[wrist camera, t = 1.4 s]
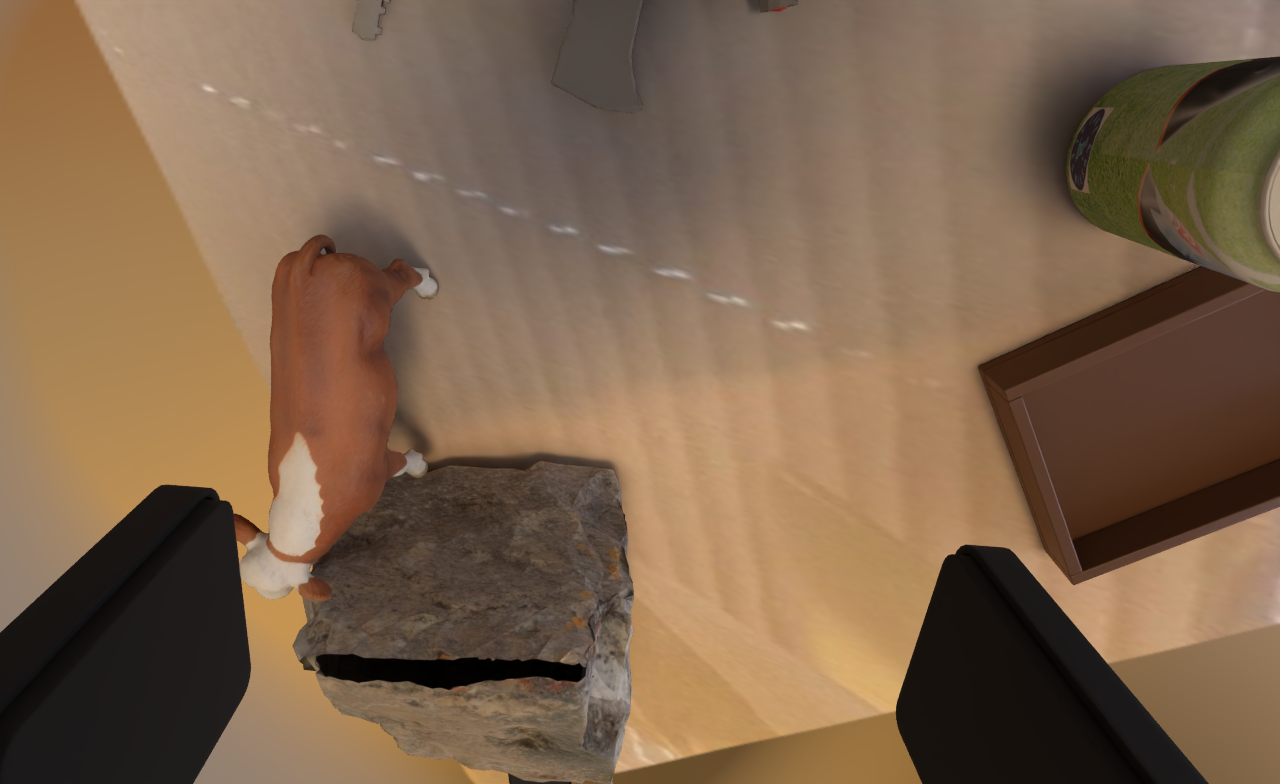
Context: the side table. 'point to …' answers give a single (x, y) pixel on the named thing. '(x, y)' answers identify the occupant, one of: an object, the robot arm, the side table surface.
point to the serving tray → (1146, 421)
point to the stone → (484, 619)
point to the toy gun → (608, 52)
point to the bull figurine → (327, 411)
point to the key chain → (368, 18)
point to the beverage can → (1188, 165)
